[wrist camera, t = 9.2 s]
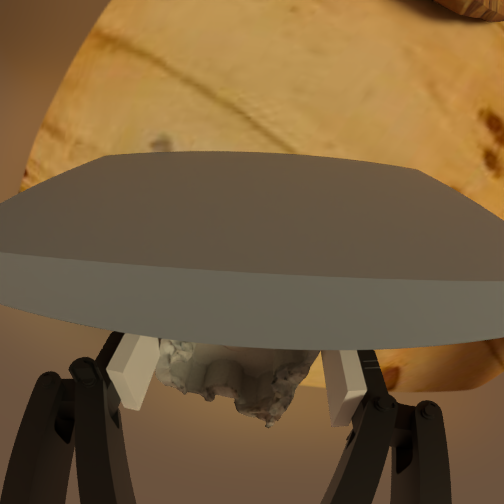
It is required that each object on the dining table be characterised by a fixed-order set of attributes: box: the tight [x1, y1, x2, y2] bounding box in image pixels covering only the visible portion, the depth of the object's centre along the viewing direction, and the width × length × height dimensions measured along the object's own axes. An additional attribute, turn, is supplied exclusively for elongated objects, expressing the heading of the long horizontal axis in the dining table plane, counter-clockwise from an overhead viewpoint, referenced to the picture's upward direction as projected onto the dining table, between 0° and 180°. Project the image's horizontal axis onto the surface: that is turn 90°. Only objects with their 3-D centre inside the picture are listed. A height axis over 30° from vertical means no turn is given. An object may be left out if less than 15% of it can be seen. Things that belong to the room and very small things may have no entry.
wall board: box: [0, 151, 504, 350], centre depth 15 cm, size 24×10×16 cm, turn 88°
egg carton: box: [155, 338, 321, 428], centre depth 14 cm, size 11×8×4 cm
